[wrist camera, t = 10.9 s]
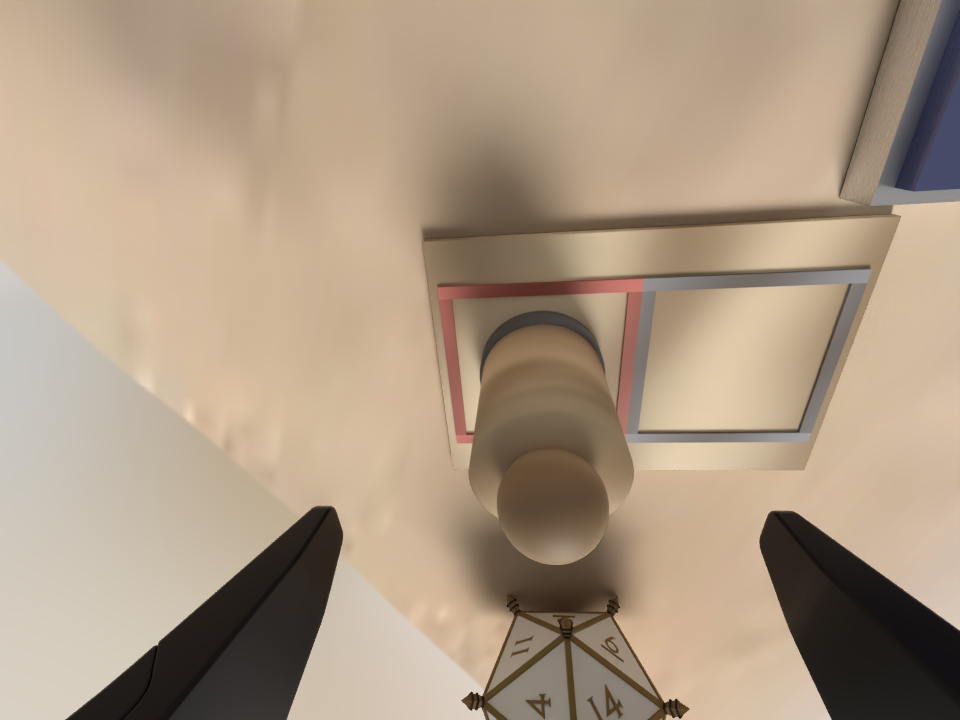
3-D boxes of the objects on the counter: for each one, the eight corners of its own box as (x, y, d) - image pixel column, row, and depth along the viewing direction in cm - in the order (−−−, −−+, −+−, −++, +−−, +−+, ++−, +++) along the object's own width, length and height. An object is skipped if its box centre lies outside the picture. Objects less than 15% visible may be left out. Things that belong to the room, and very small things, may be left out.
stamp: (597, 413, 15) (650, 616, 9) (485, 414, 16) (463, 610, 10) (605, 308, 13) (678, 475, 7) (476, 312, 14) (441, 474, 8)
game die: (541, 528, 24) (542, 599, 15) (680, 626, 23) (786, 781, 13) (453, 666, 24) (393, 836, 14) (588, 776, 22) (626, 1054, 13)
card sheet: (893, 214, 12) (903, 217, 11) (799, 464, 16) (805, 472, 16) (424, 239, 13) (421, 242, 13) (454, 464, 18) (452, 471, 17)
